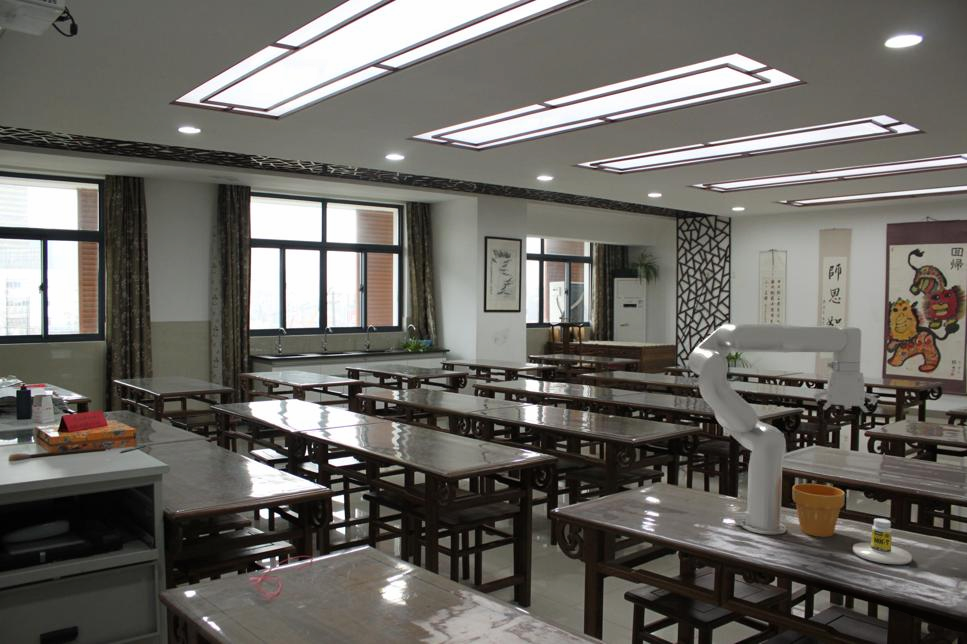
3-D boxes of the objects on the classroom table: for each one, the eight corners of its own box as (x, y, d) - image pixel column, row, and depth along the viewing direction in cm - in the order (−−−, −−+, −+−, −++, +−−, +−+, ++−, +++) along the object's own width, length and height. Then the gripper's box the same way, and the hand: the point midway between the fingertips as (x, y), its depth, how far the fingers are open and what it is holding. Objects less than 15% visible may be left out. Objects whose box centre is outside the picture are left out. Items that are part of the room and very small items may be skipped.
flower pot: (837, 543, 206) (839, 498, 206) (785, 533, 215) (787, 490, 214) (847, 531, 217) (849, 488, 217) (797, 522, 226) (799, 481, 225)
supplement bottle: (871, 552, 195) (872, 521, 194) (870, 547, 199) (871, 516, 199) (891, 555, 192) (892, 524, 192) (890, 550, 197) (891, 519, 196)
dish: (855, 561, 192) (856, 555, 192) (849, 545, 205) (850, 539, 205) (916, 569, 187) (916, 563, 186) (906, 552, 200) (906, 546, 200)
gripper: (815, 367, 218) (813, 423, 219) (880, 370, 212) (878, 428, 212) (814, 365, 225) (812, 419, 226) (876, 368, 219) (874, 424, 219)
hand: (844, 423), depth 219 cm, fingers open, 9 cm apart
